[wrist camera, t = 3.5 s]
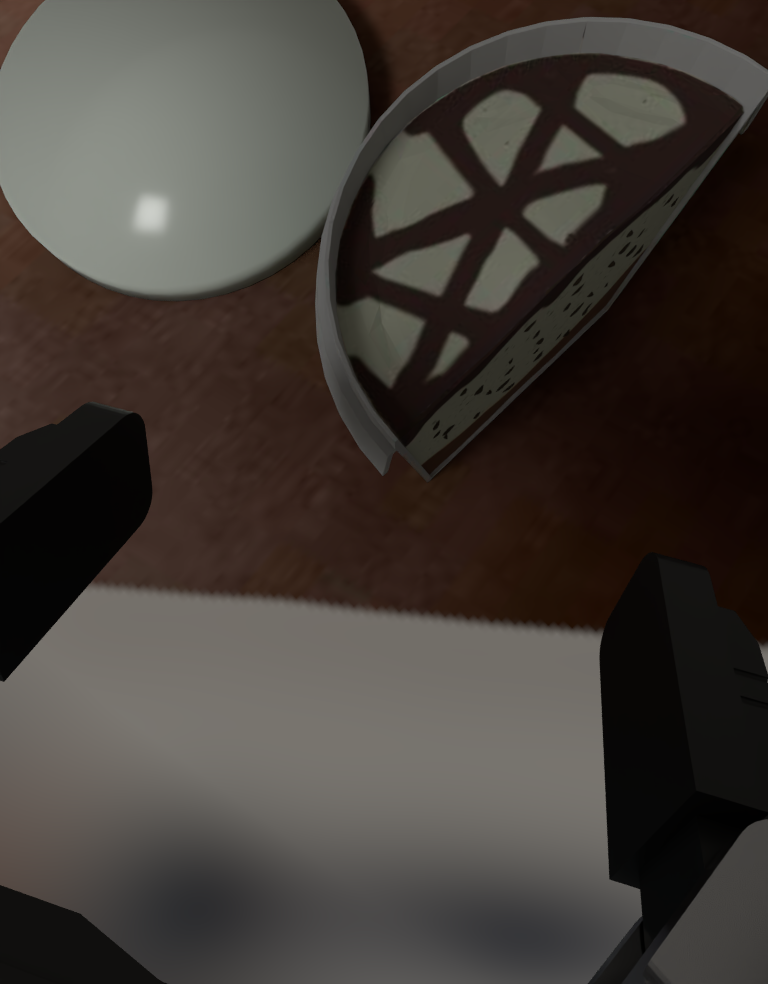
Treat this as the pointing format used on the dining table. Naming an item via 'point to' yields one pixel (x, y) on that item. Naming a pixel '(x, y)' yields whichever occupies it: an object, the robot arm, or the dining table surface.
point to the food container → (510, 217)
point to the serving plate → (180, 136)
